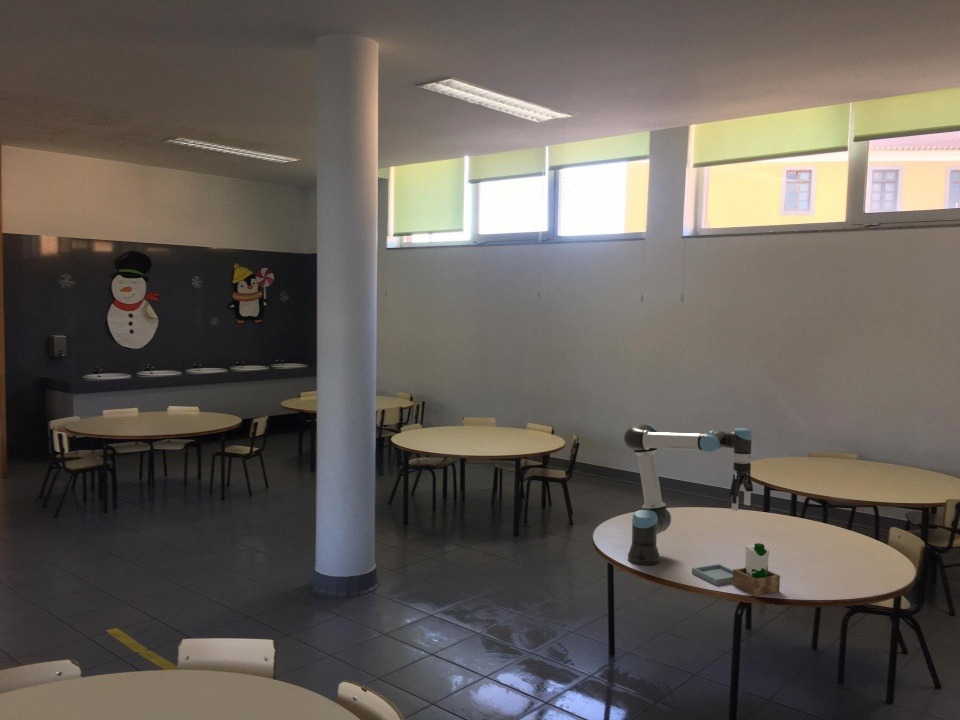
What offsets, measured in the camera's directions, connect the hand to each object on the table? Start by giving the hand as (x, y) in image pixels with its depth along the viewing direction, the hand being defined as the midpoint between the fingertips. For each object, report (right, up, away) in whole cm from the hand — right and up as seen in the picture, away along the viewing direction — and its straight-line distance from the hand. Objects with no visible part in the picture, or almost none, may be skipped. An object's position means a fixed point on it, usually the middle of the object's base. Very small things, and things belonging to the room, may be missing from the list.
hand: (741, 507), depth 332 cm
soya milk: (0, -32, -19) cm, 37 cm away
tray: (-13, -30, -5) cm, 33 cm away
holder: (0, -31, -19) cm, 36 cm away
